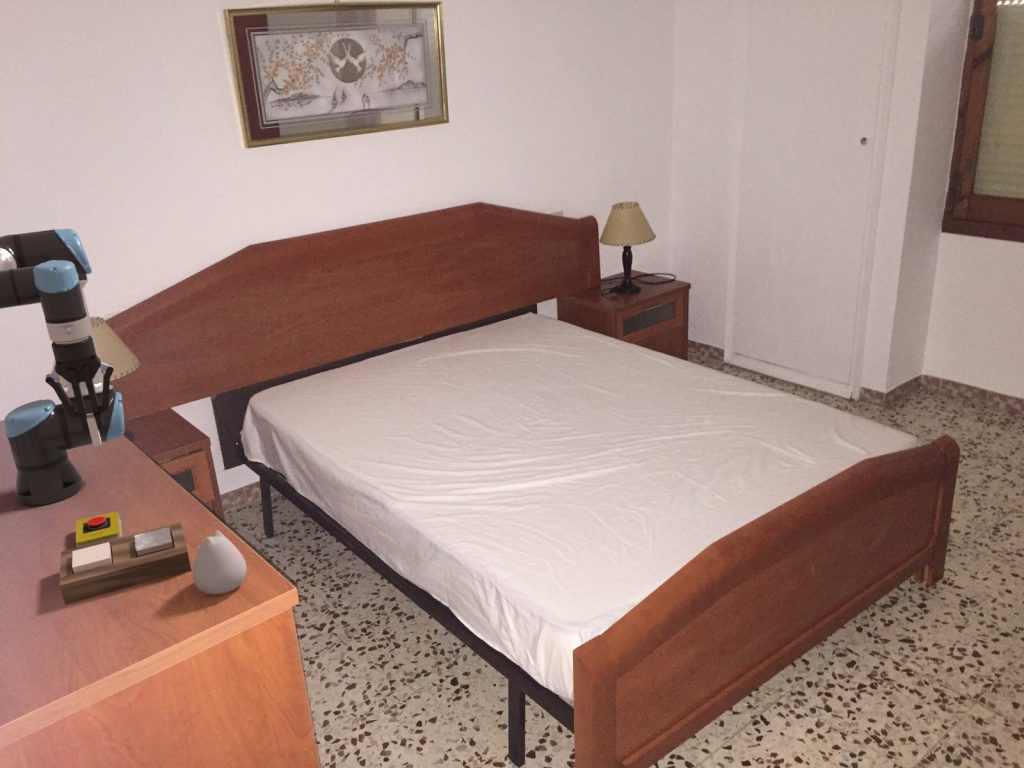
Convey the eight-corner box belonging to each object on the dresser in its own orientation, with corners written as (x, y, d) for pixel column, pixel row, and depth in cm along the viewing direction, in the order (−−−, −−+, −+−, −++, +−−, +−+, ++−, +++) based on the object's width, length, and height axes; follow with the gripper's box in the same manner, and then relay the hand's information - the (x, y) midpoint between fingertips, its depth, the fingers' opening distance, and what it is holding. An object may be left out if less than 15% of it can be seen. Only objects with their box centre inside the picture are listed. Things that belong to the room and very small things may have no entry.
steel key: (137, 549, 179) (134, 535, 178) (172, 540, 182) (169, 527, 180) (139, 565, 173) (136, 551, 172) (175, 555, 176) (172, 541, 174)
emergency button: (117, 503, 196) (119, 532, 183) (121, 519, 197) (123, 549, 185) (74, 513, 192) (73, 543, 179) (78, 529, 194) (77, 560, 181)
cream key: (76, 565, 174) (72, 551, 173) (112, 555, 177) (109, 542, 176) (76, 581, 168) (72, 567, 167) (113, 572, 171) (110, 557, 170)
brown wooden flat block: (66, 569, 177) (60, 551, 175) (184, 539, 186) (180, 522, 185) (65, 604, 165) (59, 585, 163) (191, 570, 175) (187, 551, 173)
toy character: (219, 566, 175) (209, 517, 171) (259, 576, 171) (250, 525, 167) (184, 594, 166) (172, 542, 162) (225, 604, 163) (215, 552, 158)
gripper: (34, 349, 161) (62, 457, 170) (107, 338, 167) (131, 443, 175) (36, 339, 168) (63, 443, 177) (106, 328, 173) (129, 430, 182)
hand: (97, 443), depth 176 cm, fingers closed
